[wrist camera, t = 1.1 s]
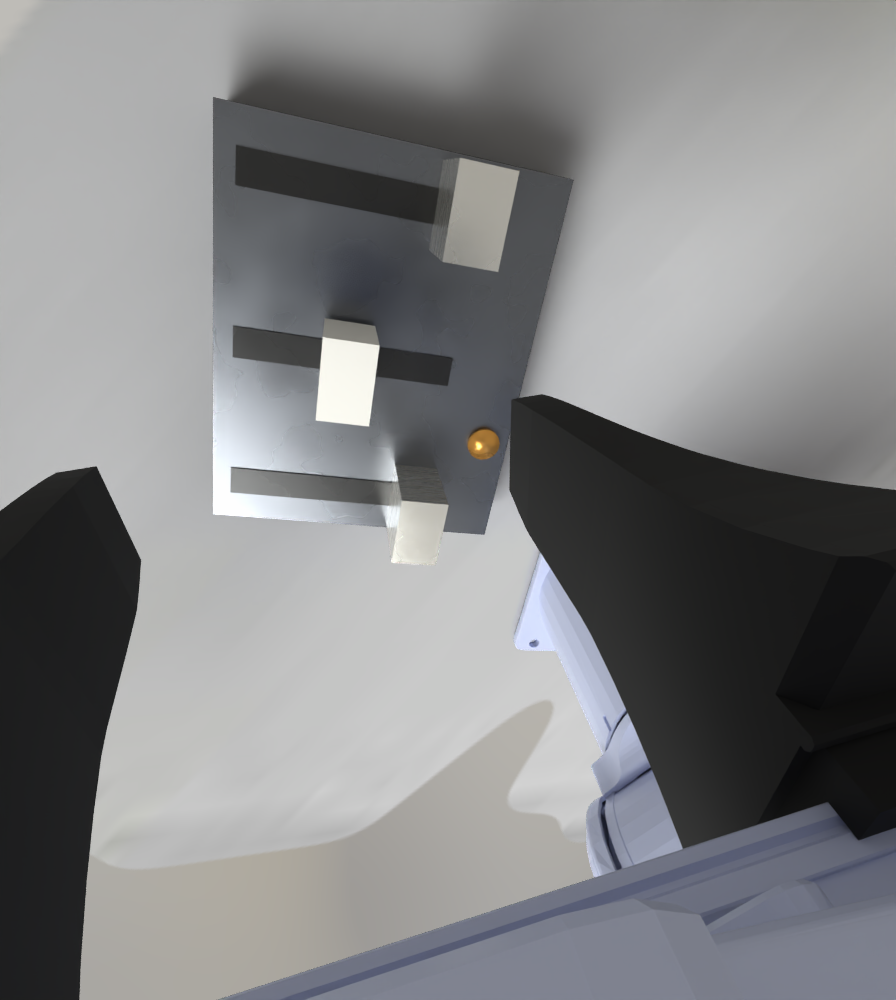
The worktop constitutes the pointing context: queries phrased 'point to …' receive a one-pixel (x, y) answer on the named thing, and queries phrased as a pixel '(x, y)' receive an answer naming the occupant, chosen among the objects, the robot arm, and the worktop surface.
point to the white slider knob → (347, 372)
